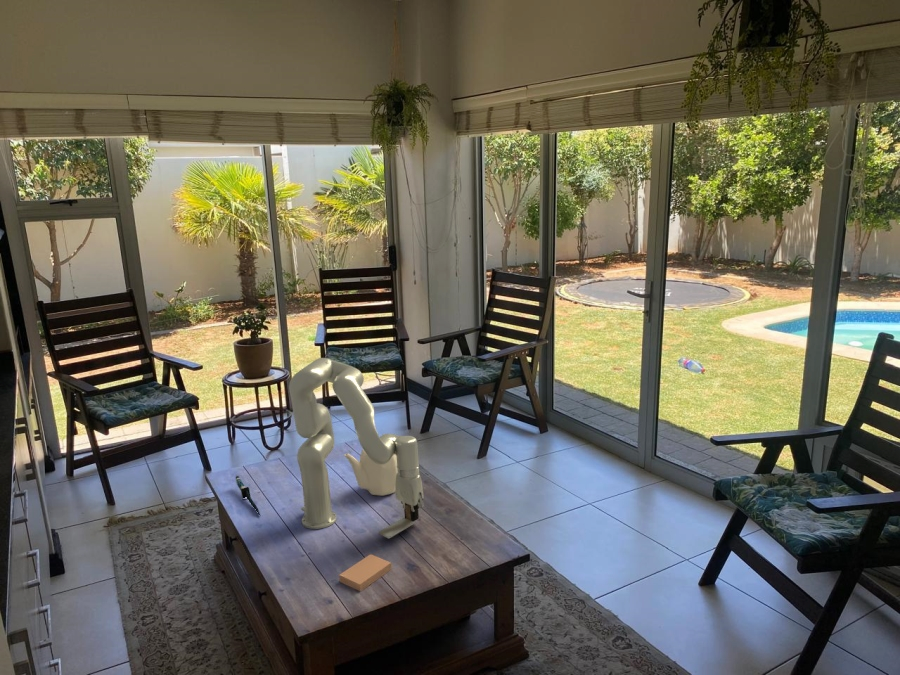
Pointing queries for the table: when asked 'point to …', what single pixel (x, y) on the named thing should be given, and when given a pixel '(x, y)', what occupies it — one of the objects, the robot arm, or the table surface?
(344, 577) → the tile
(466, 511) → the table surface
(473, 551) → the table surface
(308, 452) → the robot arm
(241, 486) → the knife
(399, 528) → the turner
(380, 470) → the cream teapot
